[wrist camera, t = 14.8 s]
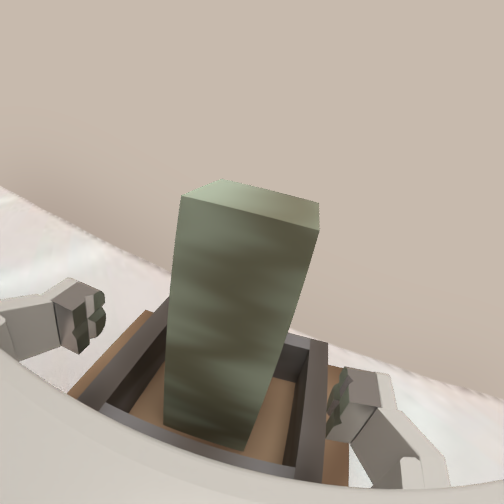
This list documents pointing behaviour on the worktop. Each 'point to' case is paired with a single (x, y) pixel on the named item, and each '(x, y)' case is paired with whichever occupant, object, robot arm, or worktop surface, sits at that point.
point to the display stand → (268, 420)
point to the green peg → (232, 304)
